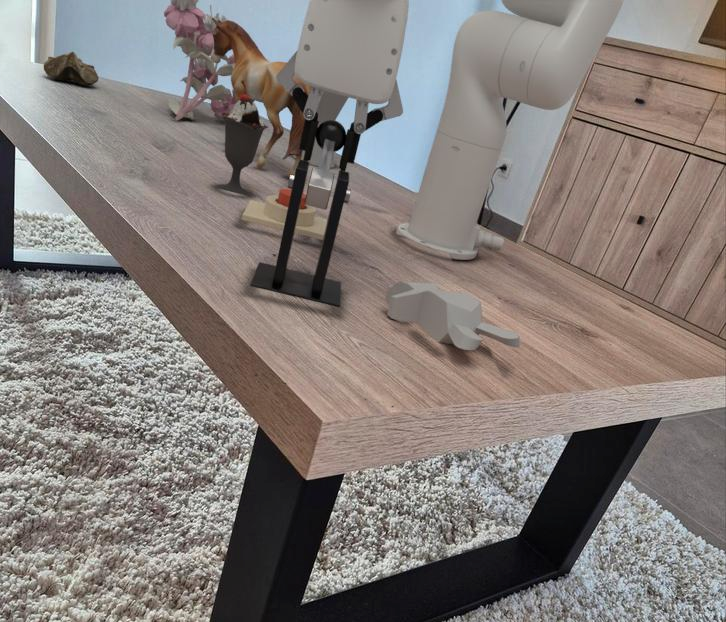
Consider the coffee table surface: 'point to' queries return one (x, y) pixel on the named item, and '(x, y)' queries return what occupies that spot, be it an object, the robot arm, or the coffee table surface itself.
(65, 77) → the fossilized seashell
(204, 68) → the flower
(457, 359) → the coffee table surface
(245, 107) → the sundae
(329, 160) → the press lever
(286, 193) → the button
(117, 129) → the coffee table surface
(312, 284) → the lever bracket
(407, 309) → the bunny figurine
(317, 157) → the lava lamp
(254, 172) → the coffee table surface
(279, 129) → the horse figurine
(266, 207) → the button block
